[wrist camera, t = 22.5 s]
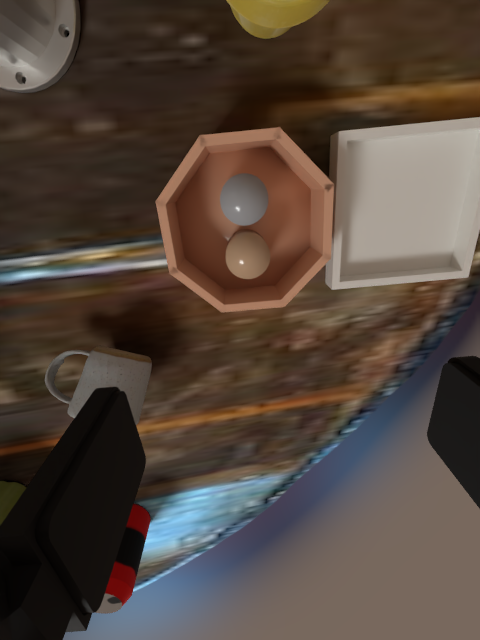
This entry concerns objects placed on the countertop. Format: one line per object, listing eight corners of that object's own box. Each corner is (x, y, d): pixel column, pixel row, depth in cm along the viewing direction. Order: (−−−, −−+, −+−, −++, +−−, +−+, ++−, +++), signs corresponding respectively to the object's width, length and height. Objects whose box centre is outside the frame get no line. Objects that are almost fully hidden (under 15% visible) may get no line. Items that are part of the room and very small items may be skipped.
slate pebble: (219, 177, 29) (217, 175, 26) (262, 172, 29) (267, 170, 25) (224, 223, 31) (223, 227, 27) (265, 219, 31) (269, 223, 27)
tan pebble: (224, 231, 31) (223, 236, 28) (265, 227, 31) (269, 232, 28) (228, 270, 33) (228, 280, 29) (267, 267, 33) (271, 277, 29)
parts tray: (330, 135, 28) (339, 131, 26) (485, 120, 28) (507, 114, 26) (325, 282, 35) (331, 289, 32) (452, 271, 34) (468, 277, 32)
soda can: (158, 522, 53) (139, 609, 42) (122, 532, 54) (94, 620, 43) (137, 497, 50) (109, 584, 39) (99, 508, 51) (62, 596, 40)
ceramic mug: (146, 353, 40) (164, 360, 33) (129, 413, 39) (145, 432, 32) (58, 334, 34) (60, 338, 28) (35, 404, 33) (32, 425, 27)
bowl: (159, 148, 29) (143, 140, 24) (318, 132, 28) (337, 120, 23) (185, 298, 35) (177, 316, 30) (315, 286, 35) (329, 303, 30)
